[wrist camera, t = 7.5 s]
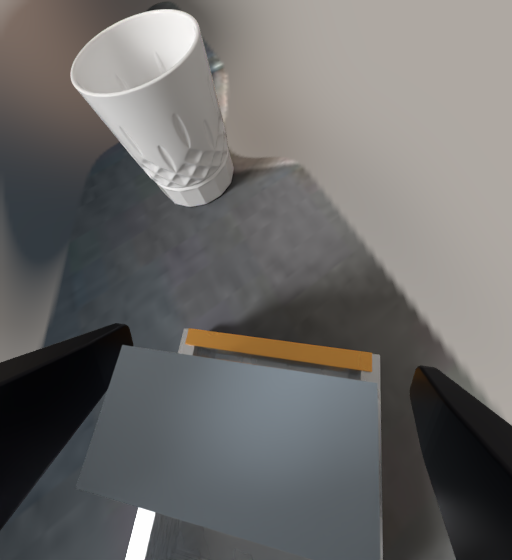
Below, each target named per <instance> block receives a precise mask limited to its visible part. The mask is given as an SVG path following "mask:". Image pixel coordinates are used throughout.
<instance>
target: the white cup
mask: <svg viewBox="0 0 512 560" xmlns="http://www.w3.org/2000/svg"><path fill="white" fill-rule="evenodd" d="M71 81H72V83H73V85H74V86H75V88H76V89H77V90H78V91H79V93H81V95H82V96H83V98H84V99H85V100H86V101H87V102H88V104H89V105H90V106H91V107H92V108H93V109H94V111H95V112H96V113H97V114H98V116H99V117H100V118H101V119H102V120H103V122H104V123H105V124H106V125H107V126H108V128H109V129H110V130H111V131H112V133H113V134H114V135H115V136H116V138H117V139H118V140H119V141H120V142H121V144H122V145H123V146H124V147H125V149H126V150H127V151H128V152H129V153H130V155H131V156H132V157H133V158H134V159H135V161H136V162H137V163H138V164H139V165H140V166H141V167H142V168H143V169H144V171H145V172H146V173H147V174H148V176H149V177H150V178H151V179H152V180H154V181H155V182H156V183H157V185H158V186H159V187H160V188H161V190H162V191H163V192H164V193H165V195H166V196H168V197H169V198H170V199H171V200H172V201H173V202H174V203H175V204H178V205H183V206H187V207H193V206H199V205H204V204H207V203H209V202H211V201H213V200H214V199H216V198H218V197H219V196H221V195H222V194H223V192H224V191H225V190H226V189H227V187H228V186H229V185H230V184H231V181H232V176H233V171H234V167H233V163H232V160H231V156H230V153H229V149H228V145H227V136H226V131H225V127H224V123H223V118H222V113H221V109H220V105H219V102H218V98H217V94H216V90H215V86H214V82H213V78H212V75H211V71H210V67H209V63H208V59H207V55H206V51H205V47H204V43H203V39H202V35H201V31H200V28H199V24H198V22H197V21H196V19H195V18H194V17H192V16H191V15H190V14H188V13H185V12H183V11H179V10H171V9H162V10H153V11H148V12H144V13H140V14H137V15H134V16H131V17H128V18H126V19H124V20H121V21H119V22H117V23H115V24H113V25H112V26H110V27H108V28H107V29H105V30H103V31H102V32H101V33H99V34H98V35H96V36H95V37H94V38H93V39H92V40H90V41H89V42H88V43H87V44H86V45H85V46H84V47H83V49H82V50H81V51H80V53H79V54H78V55H77V57H76V59H75V60H74V62H73V65H72V68H71Z"/></svg>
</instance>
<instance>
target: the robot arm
mask: <svg viewBox="0 0 512 560" xmlns="http://www.w3.org/2000/svg"><path fill="white" fill-rule="evenodd" d="M122 345H126V346H133V341H132V337H131V333H130V329H129V327H128V326H127V325H125V324H118V323H115V324H112V325H109V326H106V327H103V328H100V329H97V330H94V331H91V332H89V333H86V334H83V335H80V336H77V337H74V338H71V339H68V340H65V341H62V342H59V343H56V344H53V345H50V346H48V347H45V348H42V349H39V350H36V351H33V352H30V353H27V354H24V355H21V356H18V357H15V358H13V359H10V360H7V361H4V362H1V363H0V530H1V529H2V528H3V526H4V525H5V524H6V522H7V521H8V520H9V518H10V517H11V516H12V514H13V513H14V512H15V511H16V509H17V508H18V507H19V505H20V504H21V503H22V501H23V500H24V499H25V497H26V496H27V495H28V493H29V492H30V491H31V490H32V488H33V487H34V486H35V484H36V483H37V482H38V480H39V479H40V478H41V476H42V475H43V474H44V472H45V471H46V470H47V469H48V467H49V466H50V465H51V463H52V462H53V461H54V459H55V458H56V457H57V455H58V454H59V453H60V452H61V450H62V449H63V448H64V446H65V445H66V444H67V442H68V441H69V440H70V438H71V437H72V436H73V434H74V433H75V432H76V431H77V429H78V428H79V427H80V425H81V424H82V423H83V421H84V420H85V419H86V417H87V416H88V415H89V413H90V412H91V411H92V410H93V408H94V407H95V406H96V404H97V403H98V402H99V400H100V399H101V398H102V396H103V395H104V394H105V392H106V391H107V389H108V387H109V384H110V381H111V378H112V375H113V372H114V369H115V366H116V363H117V360H118V357H119V354H120V351H121V348H122ZM410 399H411V404H412V409H413V413H414V418H415V423H416V427H417V432H418V437H419V442H420V446H421V450H422V455H423V458H424V462H425V465H426V468H427V471H428V474H429V477H430V480H431V484H432V487H433V490H434V493H435V496H436V499H437V502H438V505H439V508H440V511H441V514H442V517H443V520H444V523H445V527H446V530H447V533H448V536H449V539H450V542H451V545H452V548H453V551H454V554H455V557H456V560H512V426H511V425H510V424H509V423H507V422H506V421H505V420H504V419H502V418H501V417H500V416H498V415H497V414H496V413H494V412H493V411H492V410H490V409H489V408H488V407H487V406H485V405H484V404H483V403H481V402H480V401H479V400H477V399H476V398H475V397H473V396H472V395H471V394H470V393H468V392H467V391H466V390H464V389H463V388H462V387H460V386H459V385H458V384H456V383H455V382H454V381H453V380H451V379H450V378H449V377H447V376H446V375H445V374H443V373H442V372H441V371H439V370H438V369H437V368H434V367H427V366H418V367H417V368H416V371H415V374H414V377H413V380H412V384H411V387H410Z"/></svg>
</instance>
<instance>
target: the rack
mask: <svg viewBox="0 0 512 560" xmlns="http://www.w3.org/2000/svg"><path fill="white" fill-rule="evenodd" d="M178 353H180V354H186V355H193V356H200V357H206V358H213V359H220V360H226V361H233V362H240V363H246V364H253V365H260V366H266V367H273V368H280V369H286V370H293V371H300V372H306V373H313V374H320V375H326V376H333V377H340V378H346V379H353V380H360V381H367V382H373V383H377V390H378V449H379V508H380V560H383V531H382V460H381V388H380V355H378V354H372V353H370V352H363V351H355V350H348V349H340V348H333V347H325V346H318V345H310V344H303V343H295V342H288V341H280V340H273V339H265V338H258V337H250V336H243V335H235V334H228V333H220V332H213V331H205V330H198V329H190V328H189V329H184V331H183V335H182V339H181V343H180V347H179V351H178ZM125 560H312V559H308V558H305V557H302V556H298V555H295V554H292V553H289V552H285V551H282V550H279V549H275V548H272V547H269V546H265V545H262V544H259V543H255V542H252V541H249V540H245V539H242V538H239V537H235V536H232V535H229V534H225V533H222V532H219V531H215V530H212V529H209V528H205V527H202V526H199V525H195V524H192V523H189V522H185V521H182V520H179V519H175V518H172V517H169V516H165V515H162V514H159V513H156V512H152V511H149V510H146V509H142V508H138V512H137V516H136V520H135V524H134V528H133V532H132V536H131V540H130V544H129V548H128V551H127V555H126V559H125Z"/></svg>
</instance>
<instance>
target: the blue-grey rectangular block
mask: <svg viewBox="0 0 512 560" xmlns="http://www.w3.org/2000/svg"><path fill="white" fill-rule="evenodd" d="M76 489H79V490H82V491H86V492H89V493H92V494H96V495H99V496H102V497H106V498H109V499H112V500H116V501H119V502H122V503H126V504H129V505H132V506H136V507H139V508H142V509H146V510H149V511H152V512H156V513H159V514H162V515H165V516H169V517H172V518H175V519H179V520H182V521H185V522H189V523H192V524H195V525H199V526H202V527H205V528H209V529H212V530H215V531H219V532H222V533H225V534H229V535H232V536H235V537H239V538H242V539H245V540H249V541H252V542H255V543H259V544H262V545H265V546H269V547H272V548H275V549H279V550H282V551H285V552H289V553H292V554H295V555H298V556H302V557H305V558H308V559H312V560H380V508H379V449H378V390H377V383H373V382H367V381H360V380H353V379H346V378H340V377H333V376H326V375H320V374H313V373H306V372H300V371H293V370H286V369H280V368H273V367H266V366H260V365H253V364H246V363H240V362H233V361H226V360H220V359H213V358H206V357H200V356H193V355H186V354H180V353H173V352H166V351H160V350H153V349H146V348H140V347H133V346H126V345H122V348H121V351H120V354H119V357H118V360H117V363H116V366H115V369H114V372H113V375H112V378H111V381H110V384H109V387H108V391H107V394H106V397H105V400H104V403H103V406H102V409H101V412H100V415H99V418H98V421H97V424H96V427H95V430H94V434H93V437H92V440H91V443H90V446H89V449H88V452H87V455H86V458H85V461H84V464H83V467H82V470H81V473H80V476H79V480H78V483H77V486H76Z"/></svg>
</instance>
